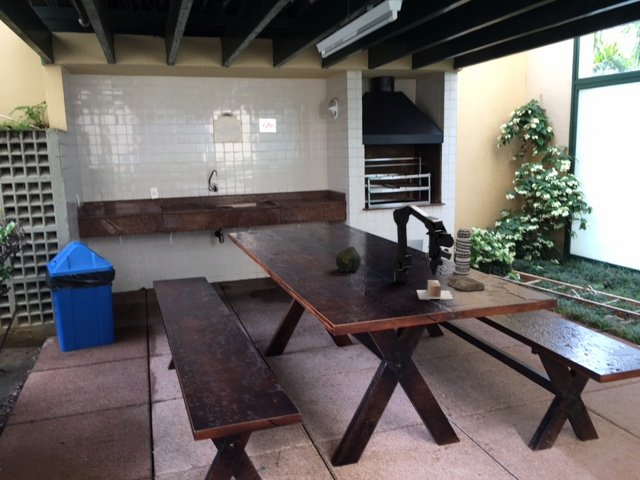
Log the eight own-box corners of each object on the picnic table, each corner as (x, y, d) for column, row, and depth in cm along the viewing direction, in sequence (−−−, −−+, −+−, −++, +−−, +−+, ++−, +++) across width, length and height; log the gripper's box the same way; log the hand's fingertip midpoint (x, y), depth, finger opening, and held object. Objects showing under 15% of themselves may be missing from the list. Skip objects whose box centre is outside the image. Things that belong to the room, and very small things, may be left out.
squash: (327, 262, 309) (343, 244, 302) (338, 258, 322) (354, 241, 316) (343, 280, 305) (360, 262, 299) (354, 275, 318) (370, 258, 312)
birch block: (427, 289, 268) (430, 296, 256) (427, 280, 267) (430, 286, 255) (437, 289, 267) (440, 296, 255) (437, 280, 266) (441, 286, 254)
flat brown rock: (441, 283, 284) (462, 292, 265) (442, 274, 283) (462, 282, 264) (464, 281, 288) (486, 290, 269) (465, 272, 287) (486, 280, 268)
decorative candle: (471, 274, 300) (473, 230, 295) (454, 273, 301) (456, 230, 297) (470, 270, 308) (472, 228, 304) (453, 270, 310) (455, 227, 306)
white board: (419, 299, 253) (419, 298, 253) (416, 291, 267) (416, 290, 267) (453, 299, 252) (453, 298, 252) (448, 291, 266) (449, 290, 265)
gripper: (454, 248, 251) (453, 280, 254) (448, 241, 269) (447, 271, 272) (430, 248, 252) (429, 280, 255) (426, 241, 270) (425, 271, 273)
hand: (433, 275), depth 264 cm, fingers closed
